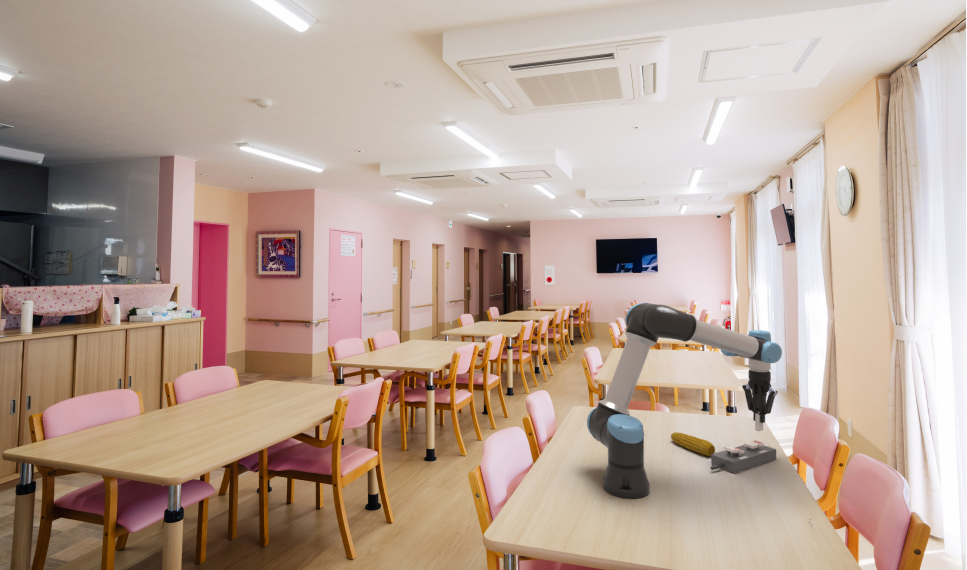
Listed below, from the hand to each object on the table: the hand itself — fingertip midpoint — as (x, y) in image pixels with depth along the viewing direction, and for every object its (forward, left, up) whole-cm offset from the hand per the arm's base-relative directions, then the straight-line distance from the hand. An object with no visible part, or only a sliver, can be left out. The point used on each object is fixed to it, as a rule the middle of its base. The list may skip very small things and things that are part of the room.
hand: (759, 430), depth 184 cm
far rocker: (-4, 0, -5) cm, 6 cm away
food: (-15, +19, -11) cm, 27 cm away
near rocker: (-16, 0, -5) cm, 16 cm away
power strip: (-13, 0, -11) cm, 17 cm away
